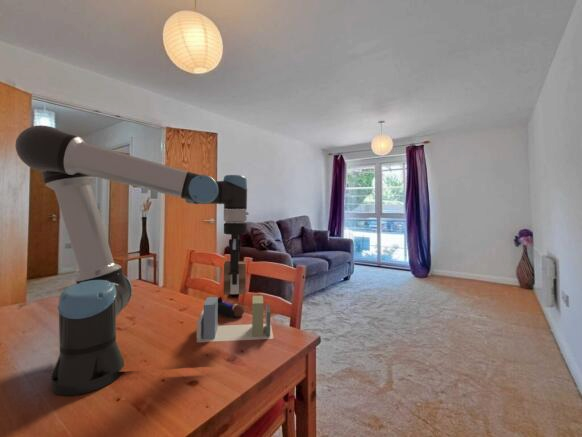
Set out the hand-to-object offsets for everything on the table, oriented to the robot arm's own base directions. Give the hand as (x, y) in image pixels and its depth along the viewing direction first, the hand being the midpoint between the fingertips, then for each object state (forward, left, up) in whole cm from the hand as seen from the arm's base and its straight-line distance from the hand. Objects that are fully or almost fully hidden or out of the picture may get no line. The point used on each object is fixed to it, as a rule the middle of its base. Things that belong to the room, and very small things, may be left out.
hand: (235, 291), depth 96 cm
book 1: (0, +8, -14) cm, 16 cm away
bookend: (0, -11, -14) cm, 18 cm away
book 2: (0, 0, 0) cm, 0 cm away
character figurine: (+17, +4, -16) cm, 24 cm away
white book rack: (0, -1, -15) cm, 16 cm away
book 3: (0, -8, -14) cm, 16 cm away
